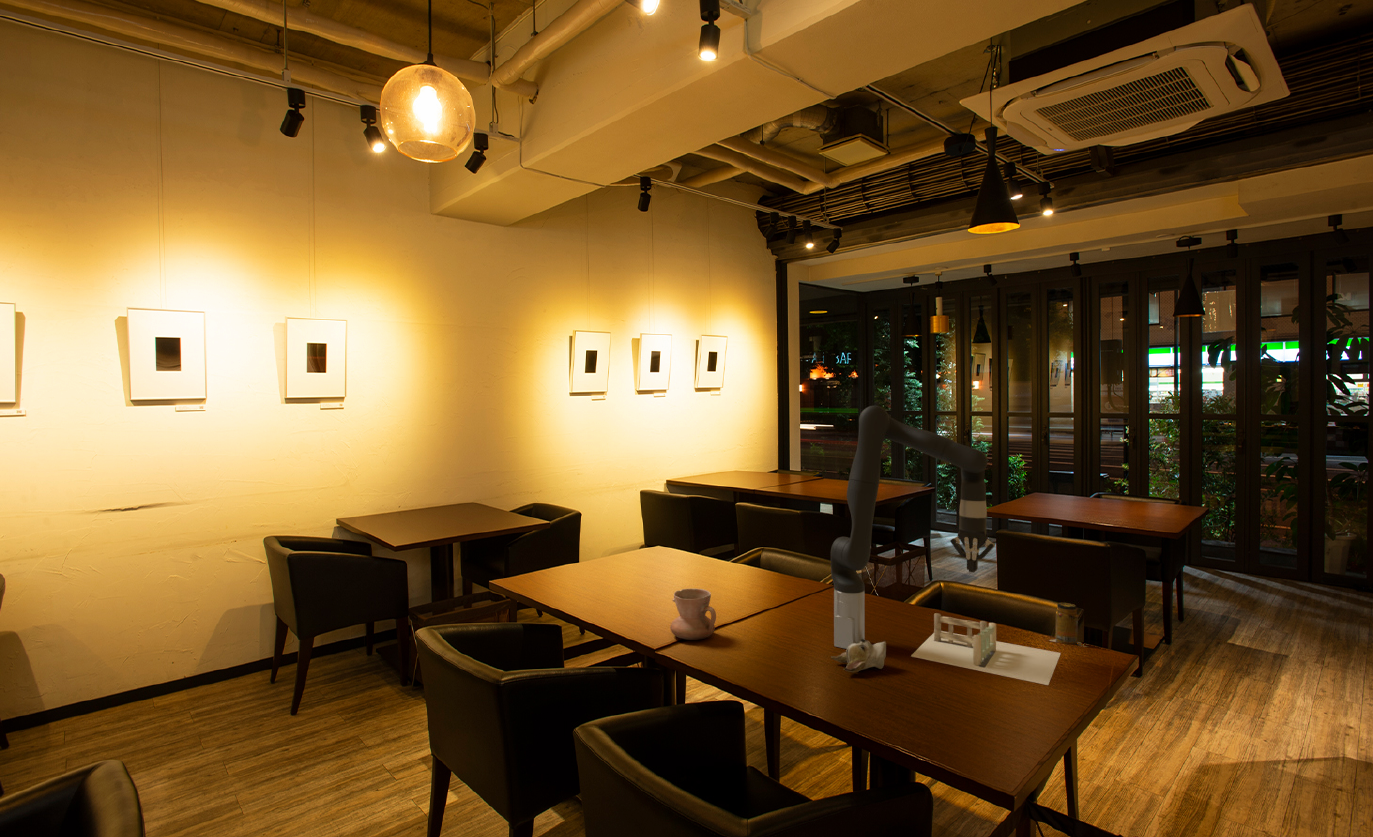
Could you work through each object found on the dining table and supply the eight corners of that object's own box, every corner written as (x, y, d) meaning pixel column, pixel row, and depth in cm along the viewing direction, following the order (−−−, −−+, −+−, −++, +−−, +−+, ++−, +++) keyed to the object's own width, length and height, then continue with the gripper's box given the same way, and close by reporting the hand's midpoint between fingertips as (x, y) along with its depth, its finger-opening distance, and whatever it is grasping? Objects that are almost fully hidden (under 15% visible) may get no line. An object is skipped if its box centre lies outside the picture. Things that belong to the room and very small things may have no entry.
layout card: (1048, 686, 175) (1048, 684, 175) (910, 657, 196) (910, 655, 196) (1060, 654, 198) (1060, 652, 198) (936, 631, 219) (936, 629, 219)
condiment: (1063, 637, 213) (1063, 600, 212) (1089, 646, 205) (1089, 607, 205) (1048, 641, 209) (1048, 603, 209) (1074, 649, 202) (1074, 610, 202)
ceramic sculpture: (894, 642, 184) (843, 649, 181) (896, 673, 184) (845, 680, 181) (876, 630, 194) (828, 636, 192) (878, 659, 195) (830, 666, 192)
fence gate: (990, 648, 201) (990, 622, 201) (997, 650, 200) (997, 623, 200) (972, 663, 189) (972, 636, 189) (979, 665, 188) (979, 637, 188)
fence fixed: (987, 649, 201) (987, 621, 201) (986, 651, 200) (986, 623, 200) (935, 639, 210) (935, 612, 210) (933, 640, 209) (933, 614, 209)
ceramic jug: (658, 635, 216) (658, 592, 215) (689, 625, 226) (689, 584, 226) (698, 649, 203) (698, 603, 203) (729, 637, 214) (729, 594, 213)
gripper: (999, 515, 200) (998, 573, 200) (954, 511, 208) (953, 566, 208) (993, 518, 194) (992, 577, 194) (946, 513, 202) (945, 570, 202)
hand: (972, 571), depth 201 cm, fingers closed
